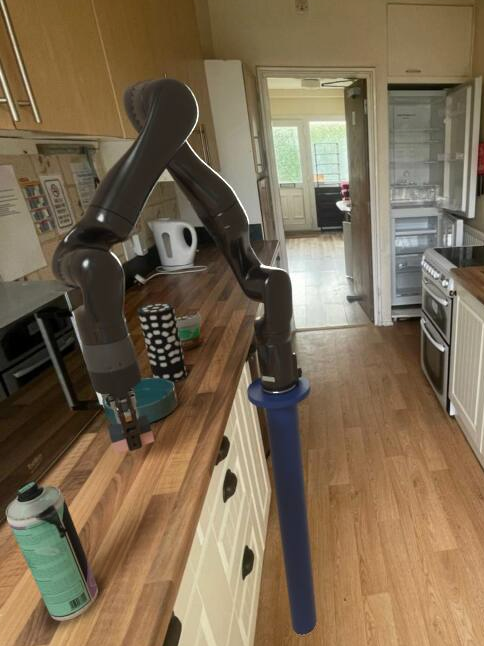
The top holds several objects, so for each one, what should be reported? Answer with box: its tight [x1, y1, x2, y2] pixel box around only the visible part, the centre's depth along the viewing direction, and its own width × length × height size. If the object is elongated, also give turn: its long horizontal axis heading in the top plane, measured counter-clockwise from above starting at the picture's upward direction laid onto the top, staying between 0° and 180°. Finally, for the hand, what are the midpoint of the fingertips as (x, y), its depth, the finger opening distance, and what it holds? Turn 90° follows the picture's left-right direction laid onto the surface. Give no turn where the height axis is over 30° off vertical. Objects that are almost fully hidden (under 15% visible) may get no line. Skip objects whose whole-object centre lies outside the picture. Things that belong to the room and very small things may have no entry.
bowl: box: [101, 377, 179, 425], centre depth 101 cm, size 15×15×5 cm
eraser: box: [107, 415, 155, 455], centre depth 80 cm, size 6×4×4 cm, turn 126°
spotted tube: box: [137, 302, 188, 383], centre depth 114 cm, size 8×8×20 cm
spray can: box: [5, 480, 99, 622], centre depth 54 cm, size 6×6×20 cm
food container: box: [176, 310, 202, 351], centre depth 134 cm, size 12×6×10 cm, turn 132°
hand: (133, 442), depth 81 cm, fingers closed on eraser, 3 cm apart
